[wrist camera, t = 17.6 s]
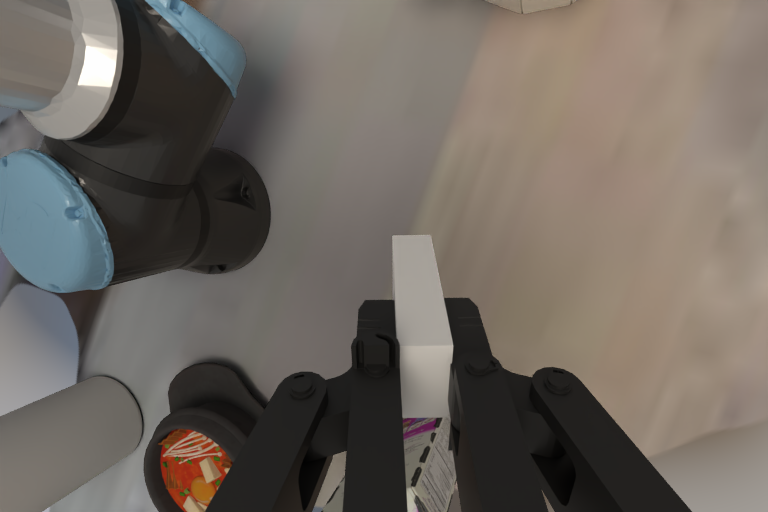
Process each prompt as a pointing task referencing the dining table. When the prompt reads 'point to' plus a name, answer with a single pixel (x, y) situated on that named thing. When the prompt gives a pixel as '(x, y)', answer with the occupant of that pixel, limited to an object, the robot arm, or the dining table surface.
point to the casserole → (198, 437)
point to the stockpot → (530, 4)
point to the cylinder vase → (65, 442)
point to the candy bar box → (421, 467)
